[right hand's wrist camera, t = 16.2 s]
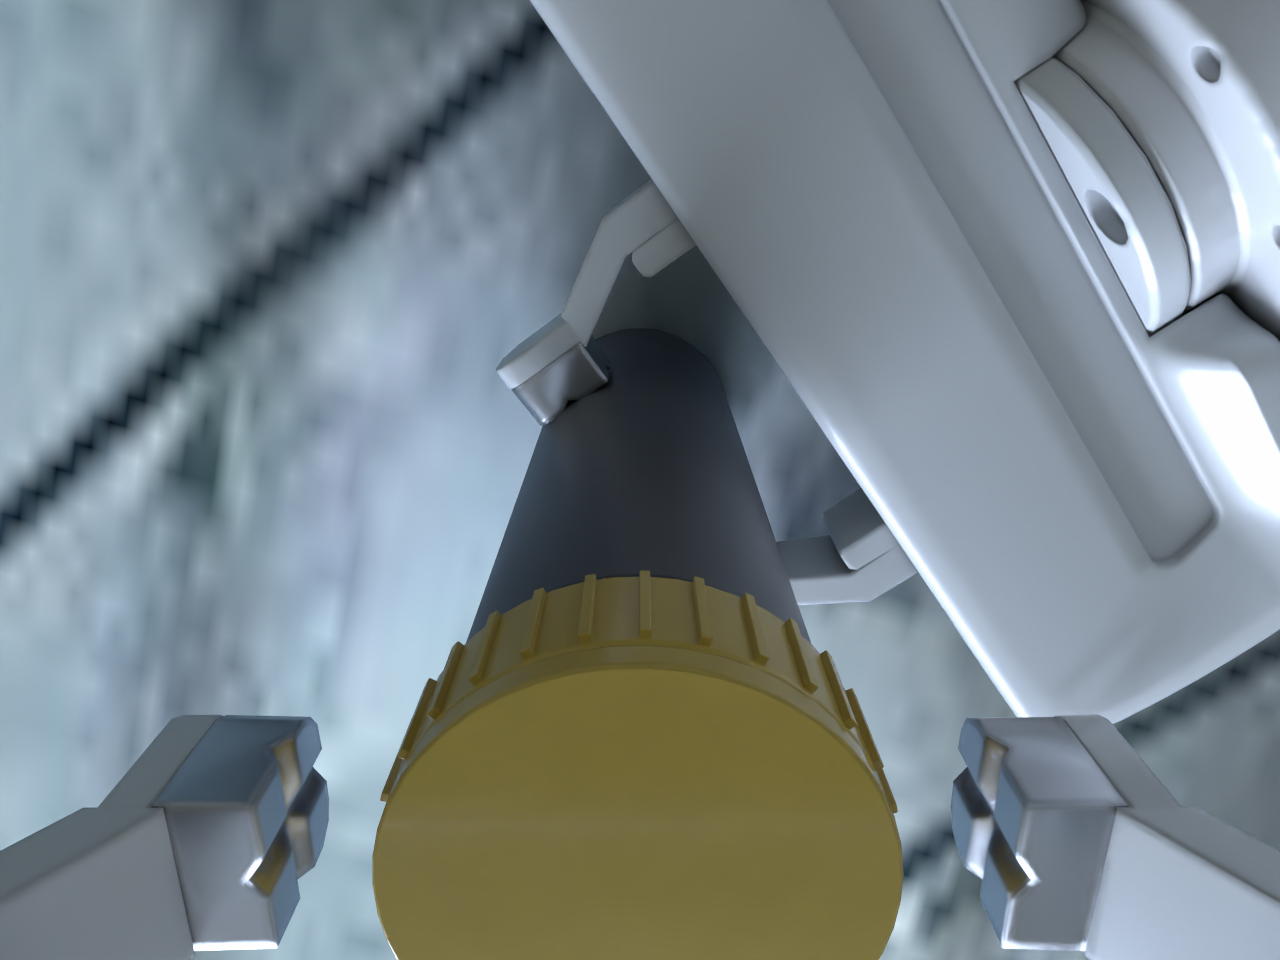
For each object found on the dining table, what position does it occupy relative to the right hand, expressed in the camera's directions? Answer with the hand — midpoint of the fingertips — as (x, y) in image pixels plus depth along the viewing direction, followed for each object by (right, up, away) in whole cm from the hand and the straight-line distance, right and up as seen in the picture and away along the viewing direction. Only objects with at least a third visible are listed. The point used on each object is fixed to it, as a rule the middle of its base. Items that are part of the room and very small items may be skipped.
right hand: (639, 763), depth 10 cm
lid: (0, -1, -2) cm, 2 cm away
